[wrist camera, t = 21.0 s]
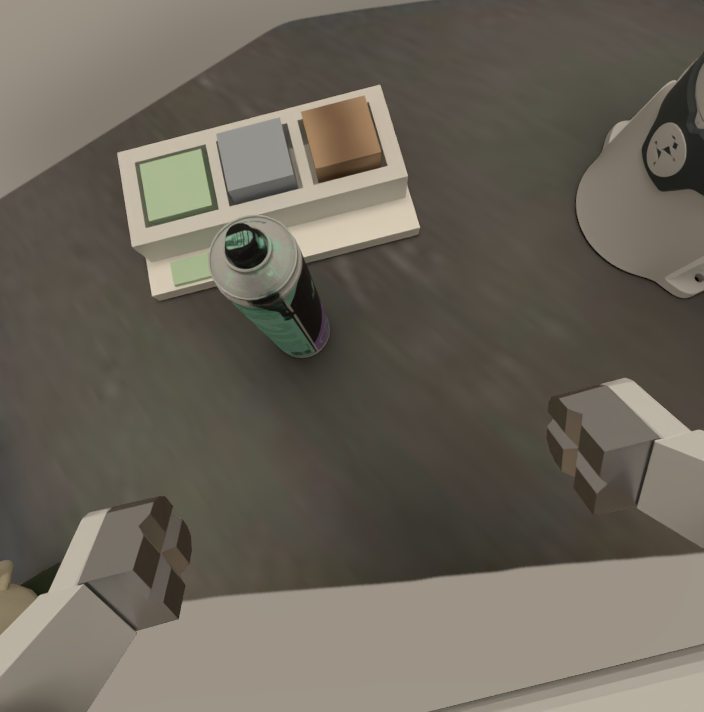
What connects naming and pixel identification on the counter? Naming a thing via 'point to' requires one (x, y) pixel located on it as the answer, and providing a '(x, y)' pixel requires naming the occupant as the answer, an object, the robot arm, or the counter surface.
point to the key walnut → (342, 139)
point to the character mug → (21, 592)
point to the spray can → (270, 283)
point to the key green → (178, 187)
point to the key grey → (256, 161)
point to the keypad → (273, 201)
